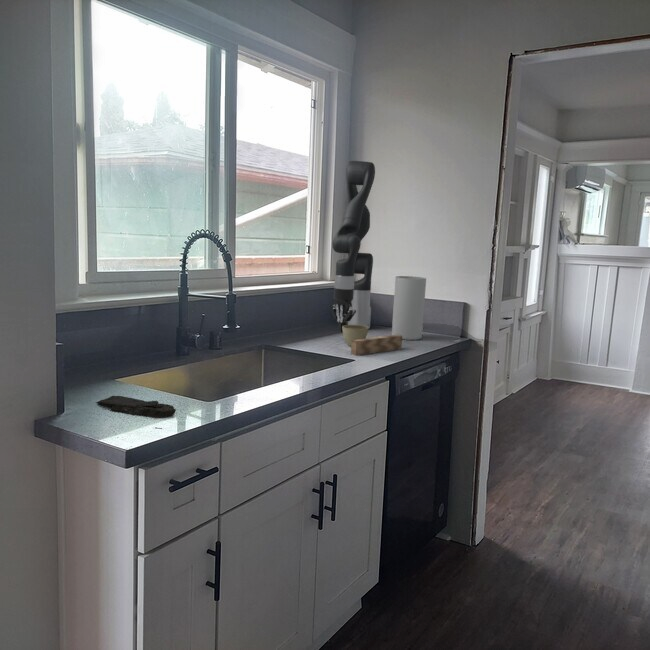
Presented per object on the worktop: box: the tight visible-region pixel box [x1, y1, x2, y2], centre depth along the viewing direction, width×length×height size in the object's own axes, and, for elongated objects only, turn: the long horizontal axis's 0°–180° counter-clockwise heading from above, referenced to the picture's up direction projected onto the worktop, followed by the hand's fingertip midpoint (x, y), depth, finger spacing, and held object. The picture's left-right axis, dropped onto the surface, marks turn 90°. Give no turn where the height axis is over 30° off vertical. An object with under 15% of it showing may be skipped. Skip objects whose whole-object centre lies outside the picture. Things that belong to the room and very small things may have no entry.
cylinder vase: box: [391, 275, 427, 341], centre depth 257 cm, size 12×12×25 cm
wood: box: [95, 395, 177, 419], centre depth 146 cm, size 22×8×3 cm, turn 65°
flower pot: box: [342, 324, 370, 347], centre depth 236 cm, size 10×10×7 cm
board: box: [350, 334, 403, 356], centre depth 227 cm, size 24×2×5 cm, turn 131°
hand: (341, 331), depth 241 cm, fingers closed
